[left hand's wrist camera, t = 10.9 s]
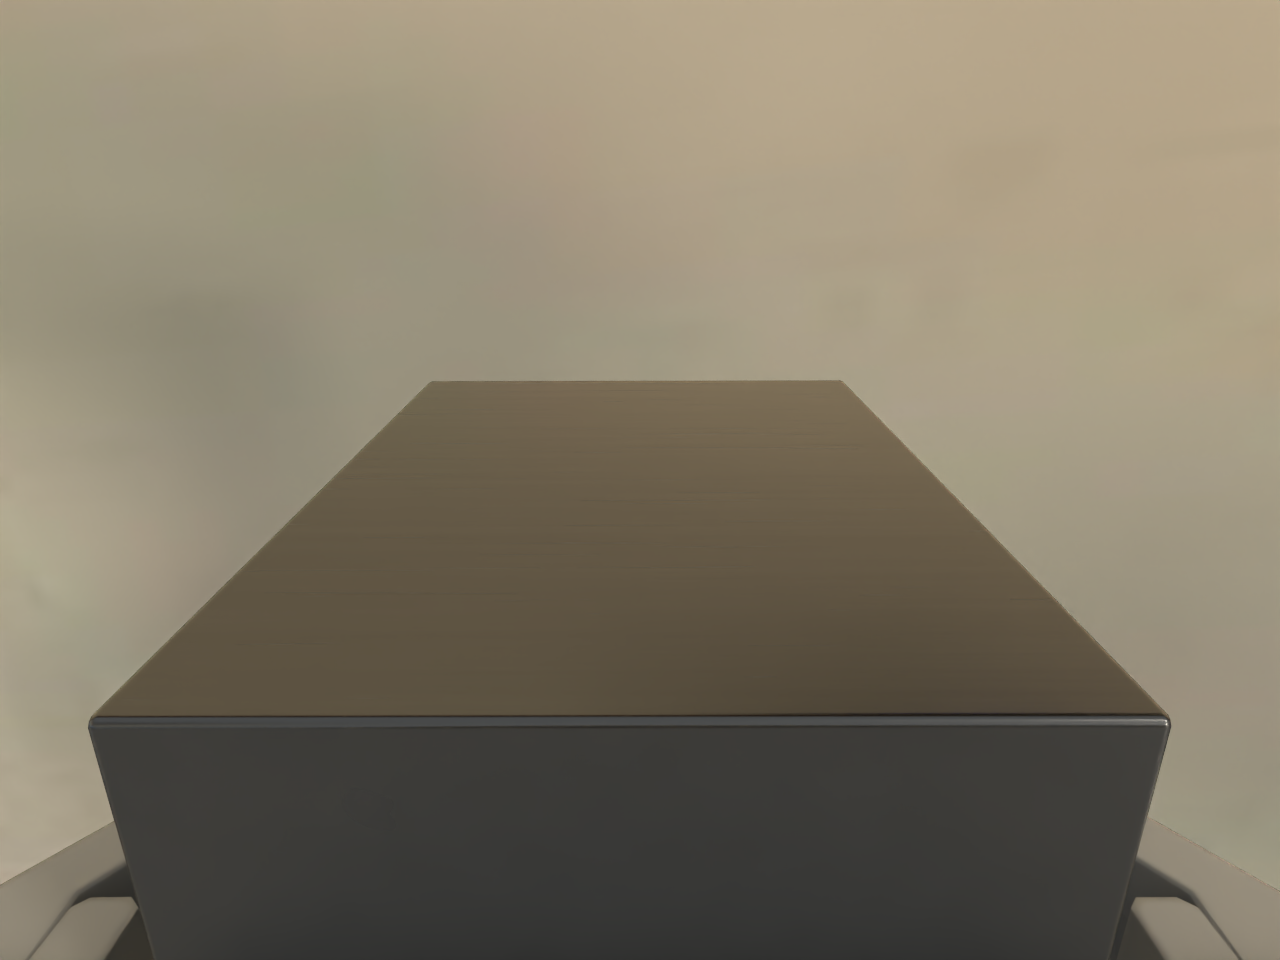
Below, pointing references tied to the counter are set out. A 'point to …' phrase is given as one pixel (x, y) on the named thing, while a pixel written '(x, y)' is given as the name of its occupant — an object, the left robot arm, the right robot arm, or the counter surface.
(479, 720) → the bar
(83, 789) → the counter surface
